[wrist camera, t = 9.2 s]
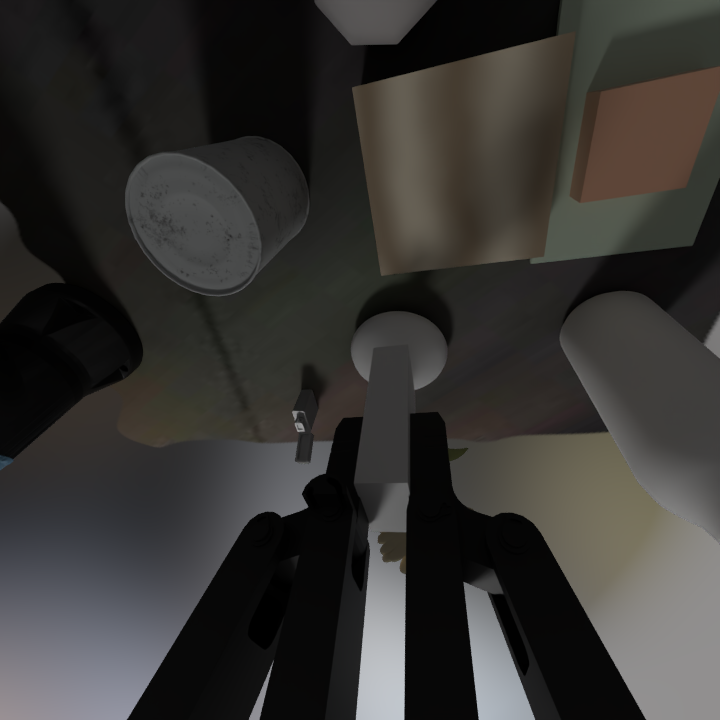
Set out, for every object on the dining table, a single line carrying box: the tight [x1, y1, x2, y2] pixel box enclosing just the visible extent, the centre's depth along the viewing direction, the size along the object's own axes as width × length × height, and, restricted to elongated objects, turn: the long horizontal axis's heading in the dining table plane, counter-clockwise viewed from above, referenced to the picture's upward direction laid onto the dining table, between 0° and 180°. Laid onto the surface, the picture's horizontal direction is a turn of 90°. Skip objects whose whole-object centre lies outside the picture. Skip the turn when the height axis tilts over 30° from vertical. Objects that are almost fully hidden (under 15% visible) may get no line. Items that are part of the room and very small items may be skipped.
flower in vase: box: [351, 311, 474, 574], centre depth 31 cm, size 13×11×25 cm
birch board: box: [352, 31, 576, 276], centre depth 27 cm, size 14×14×4 cm
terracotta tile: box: [569, 66, 720, 203], centre depth 25 cm, size 7×7×2 cm
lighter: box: [292, 390, 318, 464], centre depth 47 cm, size 7×2×8 cm, turn 9°
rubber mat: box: [530, 0, 720, 264], centre depth 26 cm, size 13×18×1 cm
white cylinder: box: [125, 136, 310, 296], centre depth 28 cm, size 10×10×12 cm
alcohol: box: [560, 291, 720, 544], centre depth 24 cm, size 9×9×30 cm
